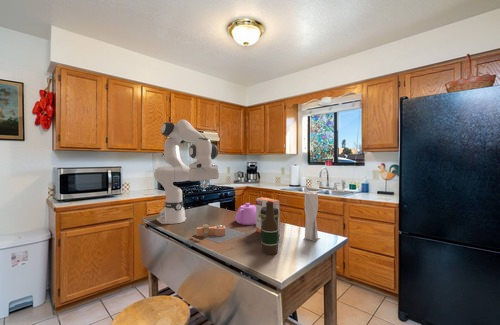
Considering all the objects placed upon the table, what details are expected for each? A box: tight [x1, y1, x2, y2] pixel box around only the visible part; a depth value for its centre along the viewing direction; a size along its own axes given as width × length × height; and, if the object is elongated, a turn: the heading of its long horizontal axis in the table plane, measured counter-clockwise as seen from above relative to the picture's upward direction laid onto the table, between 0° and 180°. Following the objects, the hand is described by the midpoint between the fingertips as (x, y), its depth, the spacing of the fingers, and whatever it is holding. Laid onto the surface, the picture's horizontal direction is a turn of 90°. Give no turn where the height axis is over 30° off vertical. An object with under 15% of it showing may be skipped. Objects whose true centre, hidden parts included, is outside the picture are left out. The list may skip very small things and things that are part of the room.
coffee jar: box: [260, 206, 280, 242], centre depth 129 cm, size 10×8×19 cm
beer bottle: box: [261, 201, 279, 256], centre depth 115 cm, size 8×8×24 cm
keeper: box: [202, 224, 210, 238], centre depth 136 cm, size 6×3×7 cm, turn 17°
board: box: [192, 226, 248, 244], centre depth 140 cm, size 24×21×1 cm
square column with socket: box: [196, 225, 226, 237], centre depth 138 cm, size 16×6×4 cm, turn 97°
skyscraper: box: [303, 188, 321, 243], centre depth 133 cm, size 8×8×28 cm
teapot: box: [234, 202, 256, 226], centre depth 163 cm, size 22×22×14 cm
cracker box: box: [255, 196, 281, 237], centre depth 140 cm, size 14×6×21 cm, turn 42°
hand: (204, 187), depth 145 cm, fingers closed
